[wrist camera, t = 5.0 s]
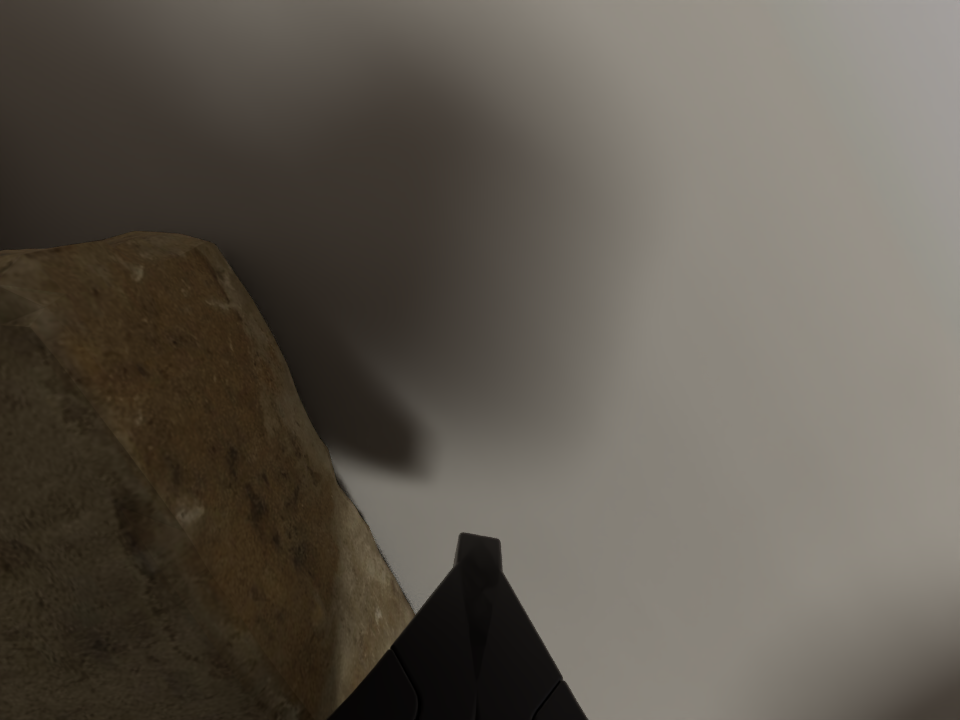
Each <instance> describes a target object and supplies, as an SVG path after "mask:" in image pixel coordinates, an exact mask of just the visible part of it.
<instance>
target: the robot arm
mask: <svg viewBox="0 0 960 720" xmlns="http://www.w3.org/2000/svg"><path fill="white" fill-rule="evenodd" d="M326 720H588V719H587V717H586V715H585V714H584V712H583V710H582V709H581V707H580V705H579V704H578V702H577V700H576V699H575V697H574V695H573V693H572V692H571V690H570V688H569V686H568V685H567V683H566V682H565V681H563V677H562V675H561V673H560V671H559V669H558V668H557V666H556V664H555V662H554V661H553V659H552V657H551V655H550V654H549V652H548V650H547V648H546V647H545V645H544V643H543V641H542V640H541V638H540V636H539V634H538V633H537V631H536V629H535V627H534V626H533V624H532V622H531V620H530V619H529V617H528V615H527V614H526V612H525V610H524V608H523V607H522V605H521V603H520V601H519V600H518V598H517V596H516V594H515V593H514V591H513V589H512V587H511V586H510V584H509V582H508V580H507V579H506V577H505V575H504V573H503V570H502V555H501V542H500V540H499V539H497V538H492V537H486V536H480V535H475V534H470V533H464V532H463V533H460V535H459V538H458V543H457V548H456V554H455V559H454V564H453V568H452V569H451V571H450V572H449V573H448V574H447V576H446V577H445V578H444V579H443V581H442V582H441V583H440V585H439V586H438V587H437V588H436V590H435V591H434V592H433V593H432V595H431V596H430V597H429V598H428V600H427V601H426V602H425V604H424V605H423V606H422V607H421V609H420V610H419V611H418V612H417V614H416V615H415V616H414V617H413V619H412V620H411V621H410V622H409V624H408V625H407V626H406V628H405V629H404V630H403V631H402V633H401V634H400V635H399V636H398V638H397V639H396V640H395V641H394V643H393V644H392V645H391V647H390V649H388V650H387V651H386V652H385V654H384V655H383V656H382V657H381V659H380V660H379V661H378V663H377V664H376V665H375V666H374V668H373V669H372V670H371V671H370V672H369V673H368V675H367V676H366V677H365V678H364V679H363V680H362V682H361V683H360V684H359V685H358V686H357V688H356V689H355V690H354V691H353V692H352V693H351V694H350V695H349V696H348V698H347V699H346V700H345V701H344V702H343V703H342V704H341V705H340V706H339V707H338V708H337V709H336V710H335V711H334V712H333V713H332V714H331V715H330V716H329V717H328V718H327V719H326Z"/></svg>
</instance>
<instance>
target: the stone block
mask: <svg viewBox="0 0 960 720" xmlns="http://www.w3.org/2000/svg"><path fill="white" fill-rule="evenodd" d="M414 616H415V613H414V612H413V610H412V608H411V607H410V605H409V603H408V602H407V600H406V598H405V596H404V595H403V593H402V591H401V589H400V587H399V585H398V583H397V581H396V579H395V577H394V576H393V574H392V572H391V571H390V569H389V568H388V566H387V565H386V563H385V561H384V560H383V558H382V557H381V555H380V553H379V550H378V548H377V546H376V543H375V541H374V538H373V536H372V533H371V531H370V528H369V526H368V525H367V524H366V522H365V521H364V520H363V519H362V518H361V517H360V515H359V513H358V511H357V509H356V507H355V506H354V505H353V503H352V502H351V501H350V499H349V498H348V497H347V496H346V494H345V493H344V492H343V490H342V489H341V488H340V486H339V485H338V484H337V481H336V477H335V473H334V469H333V465H332V462H331V458H330V454H329V450H328V448H327V447H326V445H325V444H324V443H323V442H322V441H321V439H320V438H319V436H318V435H317V433H316V431H315V429H314V428H313V426H312V424H311V422H310V419H309V417H308V415H307V413H306V411H305V409H304V407H303V405H302V402H301V400H300V398H299V396H298V393H297V390H296V388H295V385H294V382H293V379H292V377H291V374H290V371H289V368H288V365H287V363H286V361H285V359H284V357H283V355H282V353H281V351H280V349H279V347H278V345H277V343H276V341H275V339H274V337H273V335H272V333H271V331H270V329H269V327H268V326H267V324H266V322H265V320H264V319H263V317H262V315H261V313H260V312H259V310H258V308H257V306H256V305H255V303H254V301H253V300H252V298H251V297H250V295H249V294H248V292H247V291H246V289H245V288H244V286H243V285H242V283H241V282H240V280H239V279H238V277H237V276H236V274H235V273H234V271H233V270H232V268H231V267H230V265H229V264H228V262H227V261H226V259H225V258H224V256H223V255H222V254H221V252H220V251H219V249H218V248H217V246H216V245H215V244H213V243H211V242H209V241H205V240H202V239H198V238H194V237H191V236H187V235H184V234H177V233H164V232H146V231H132V232H129V233H125V234H122V235H118V236H115V237H111V238H108V239H104V240H99V241H92V242H86V243H79V244H72V245H66V246H59V247H53V248H46V249H21V250H2V251H0V720H326V719H327V718H328V717H329V716H330V715H331V714H332V713H333V712H334V711H335V710H336V709H337V708H338V707H339V706H340V705H341V704H342V703H343V702H344V701H345V700H346V699H347V698H348V696H349V695H350V694H351V693H352V692H353V691H354V690H355V689H356V688H357V686H358V685H359V684H360V683H361V682H362V680H363V679H364V678H365V677H366V676H367V675H368V673H369V672H370V671H371V670H372V669H373V668H374V666H375V665H376V664H377V663H378V661H379V660H380V659H381V657H382V656H383V655H384V654H385V652H386V651H387V650H388V649H390V647H391V645H392V644H393V643H394V641H395V640H396V639H397V638H398V636H399V635H400V634H401V633H402V631H403V630H404V629H405V628H406V626H407V625H408V624H409V622H410V621H411V620H412V619H413V617H414Z"/></svg>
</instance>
